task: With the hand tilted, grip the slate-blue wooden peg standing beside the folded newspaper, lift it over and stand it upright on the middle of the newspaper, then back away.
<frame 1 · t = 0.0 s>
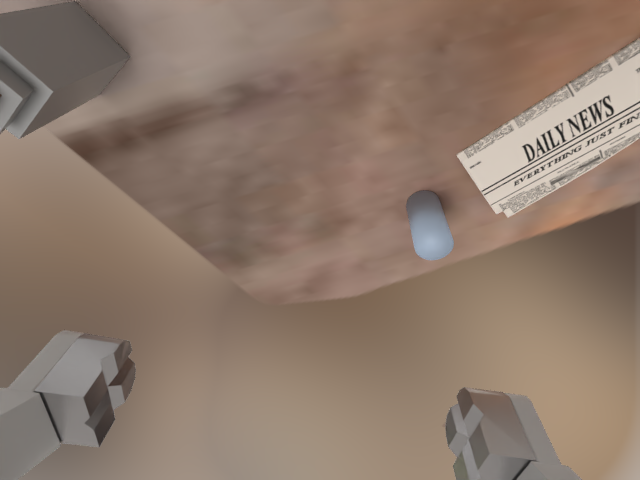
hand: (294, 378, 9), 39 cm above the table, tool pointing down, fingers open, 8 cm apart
blue peg: (422, 204, 51), on the table
newspaper: (568, 132, 44), on the table
perfume bottle: (88, 51, 42), on the table
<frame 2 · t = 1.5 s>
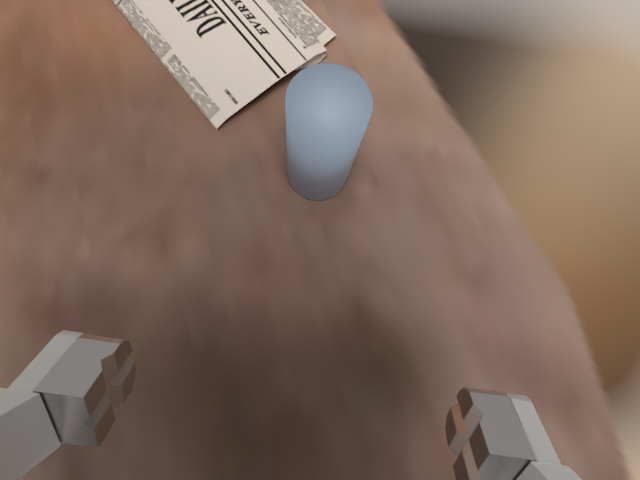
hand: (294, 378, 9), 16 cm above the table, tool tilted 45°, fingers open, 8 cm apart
blue peg: (317, 172, 27), on the table
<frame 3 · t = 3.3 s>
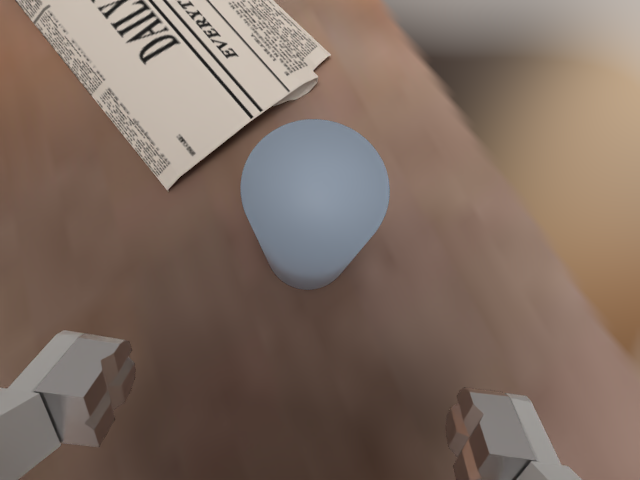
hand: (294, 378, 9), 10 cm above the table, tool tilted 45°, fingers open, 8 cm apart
blue peg: (307, 247, 20), on the table
newspaper: (148, 6, 24), on the table
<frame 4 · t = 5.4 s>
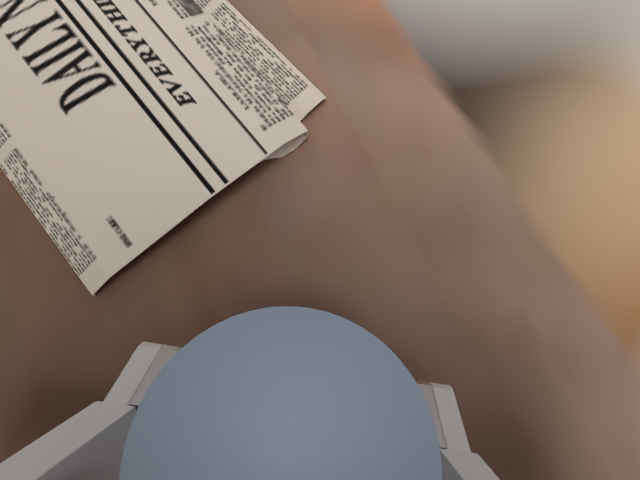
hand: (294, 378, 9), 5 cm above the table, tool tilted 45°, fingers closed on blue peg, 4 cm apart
blue peg: (294, 378, 14), on the table, touching gripper
newspaper: (85, 28, 18), on the table
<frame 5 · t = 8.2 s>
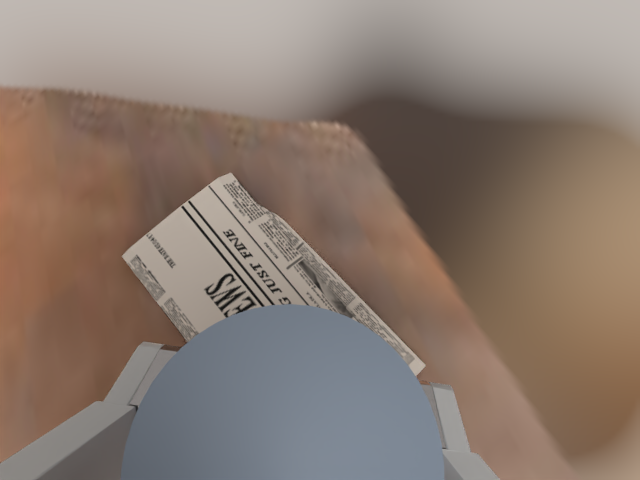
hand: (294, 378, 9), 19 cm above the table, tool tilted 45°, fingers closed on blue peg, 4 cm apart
blue peg: (295, 377, 14), point 14 cm above the table, touching gripper
newspaper: (272, 310, 29), on the table
when the fingers open (8 cm above the table, at t = 11.0 s): blue peg drops 2 cm, resting on newspaper.
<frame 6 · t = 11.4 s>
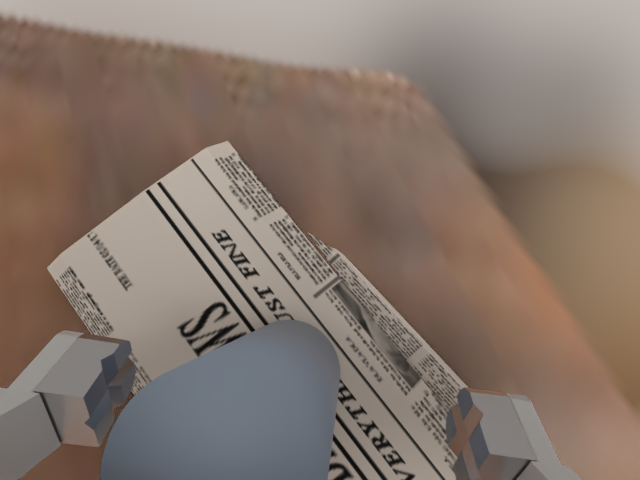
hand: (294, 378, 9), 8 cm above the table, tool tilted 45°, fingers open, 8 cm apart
blue peg: (288, 372, 16), point 1 cm above the table, tilted 10°, touching newspaper
newspaper: (287, 361, 18), on the table, touching blue peg
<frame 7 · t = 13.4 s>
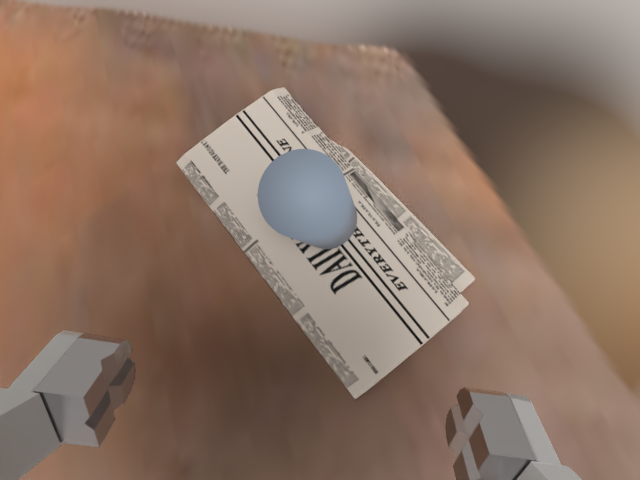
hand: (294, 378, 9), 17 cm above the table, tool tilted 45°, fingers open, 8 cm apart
blue peg: (326, 218, 27), point 1 cm above the table, tilted 14°, touching newspaper
newspaper: (321, 223, 29), on the table, touching blue peg
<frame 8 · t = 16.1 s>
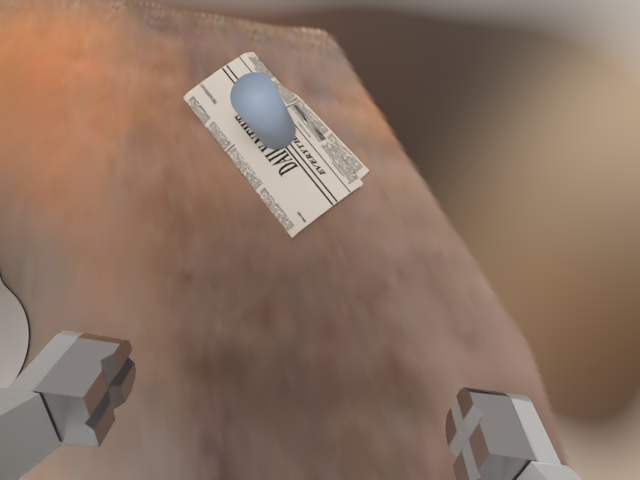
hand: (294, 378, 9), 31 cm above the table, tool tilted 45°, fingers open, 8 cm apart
blue peg: (277, 131, 44), point 1 cm above the table, tilted 14°
newspaper: (276, 139, 46), on the table
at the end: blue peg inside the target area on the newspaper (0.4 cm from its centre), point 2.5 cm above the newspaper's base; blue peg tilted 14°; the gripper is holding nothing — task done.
